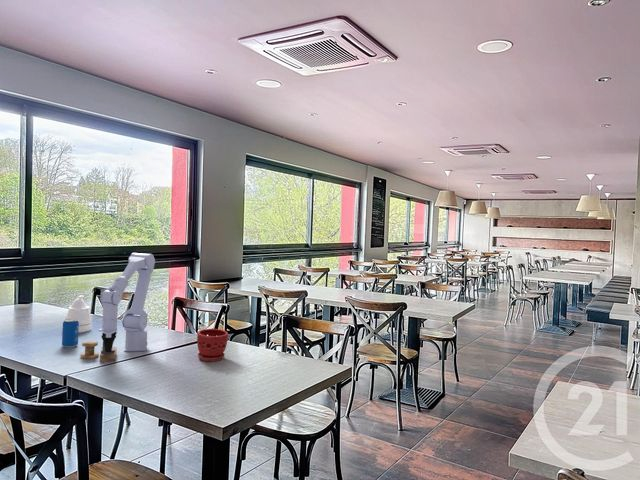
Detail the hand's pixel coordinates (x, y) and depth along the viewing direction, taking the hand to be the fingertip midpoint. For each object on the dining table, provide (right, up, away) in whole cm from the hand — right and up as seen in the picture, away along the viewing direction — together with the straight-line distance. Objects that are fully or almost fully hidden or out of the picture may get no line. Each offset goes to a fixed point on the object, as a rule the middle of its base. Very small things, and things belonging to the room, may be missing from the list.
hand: (108, 350), depth 200 cm
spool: (-9, -3, +2) cm, 10 cm away
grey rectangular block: (-1, -2, 0) cm, 2 cm away
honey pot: (-37, 0, +47) cm, 60 cm away
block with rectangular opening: (-1, -4, +2) cm, 4 cm away
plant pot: (+41, -6, +9) cm, 43 cm away
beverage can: (-25, -2, +16) cm, 30 cm away
